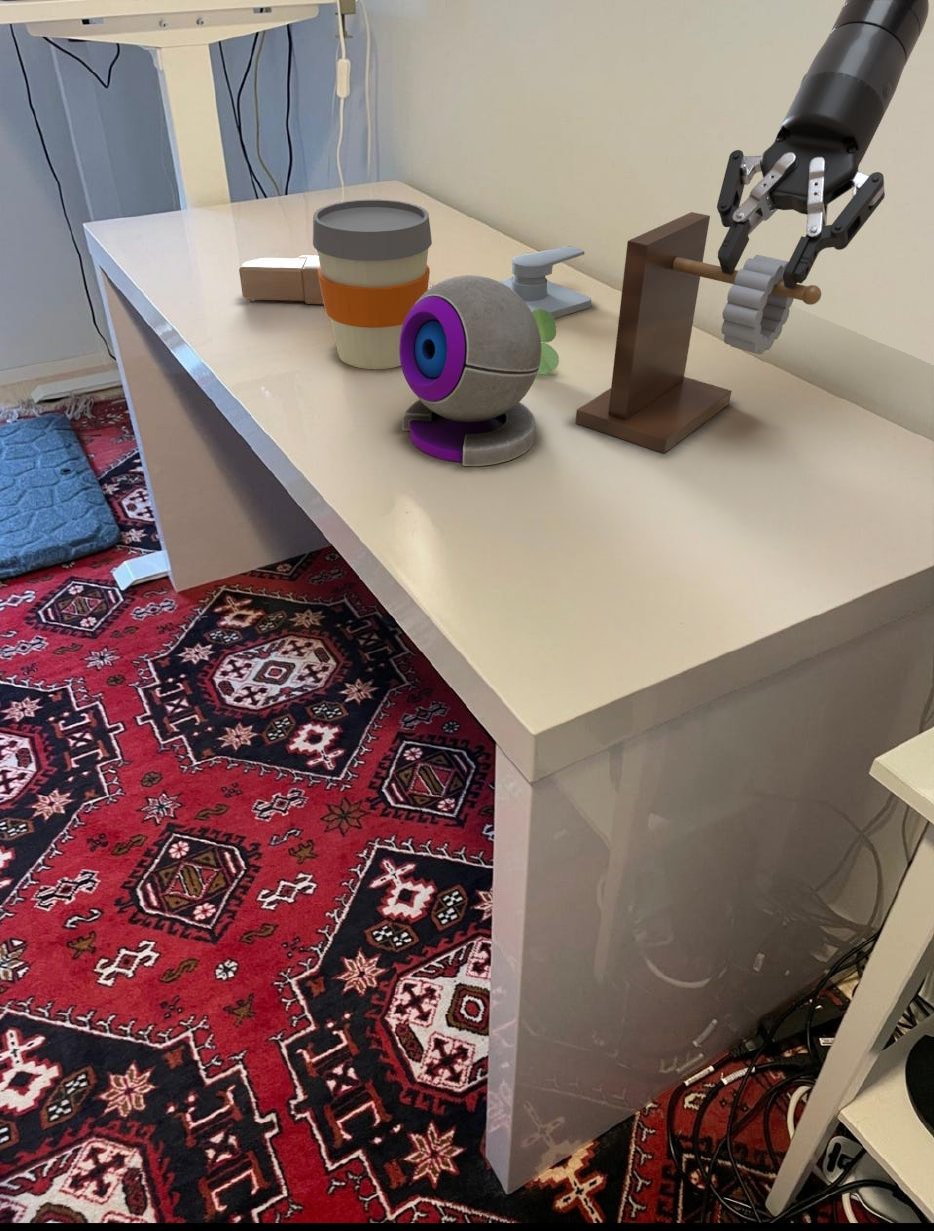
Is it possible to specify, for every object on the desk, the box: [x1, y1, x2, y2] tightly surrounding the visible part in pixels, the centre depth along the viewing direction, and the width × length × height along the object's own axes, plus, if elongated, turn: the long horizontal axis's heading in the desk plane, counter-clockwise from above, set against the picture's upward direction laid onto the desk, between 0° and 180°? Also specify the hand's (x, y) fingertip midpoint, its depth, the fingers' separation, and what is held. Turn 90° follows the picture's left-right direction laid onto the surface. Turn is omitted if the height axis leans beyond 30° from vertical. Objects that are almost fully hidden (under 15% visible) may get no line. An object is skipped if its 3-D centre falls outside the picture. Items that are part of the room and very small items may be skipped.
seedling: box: [532, 309, 560, 376], centre depth 107 cm, size 7×8×7 cm
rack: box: [575, 211, 822, 454], centre depth 89 cm, size 19×14×18 cm
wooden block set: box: [238, 255, 324, 305], centre depth 125 cm, size 17×6×18 cm
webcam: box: [399, 274, 542, 467], centre depth 88 cm, size 13×13×15 cm
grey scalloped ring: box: [721, 254, 795, 355], centre depth 85 cm, size 3×8×8 cm, turn 140°
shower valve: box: [497, 245, 592, 319], centre depth 121 cm, size 12×6×15 cm
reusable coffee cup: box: [312, 198, 433, 370], centre depth 104 cm, size 13×13×15 cm
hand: (755, 275), depth 82 cm, fingers open, 5 cm apart
